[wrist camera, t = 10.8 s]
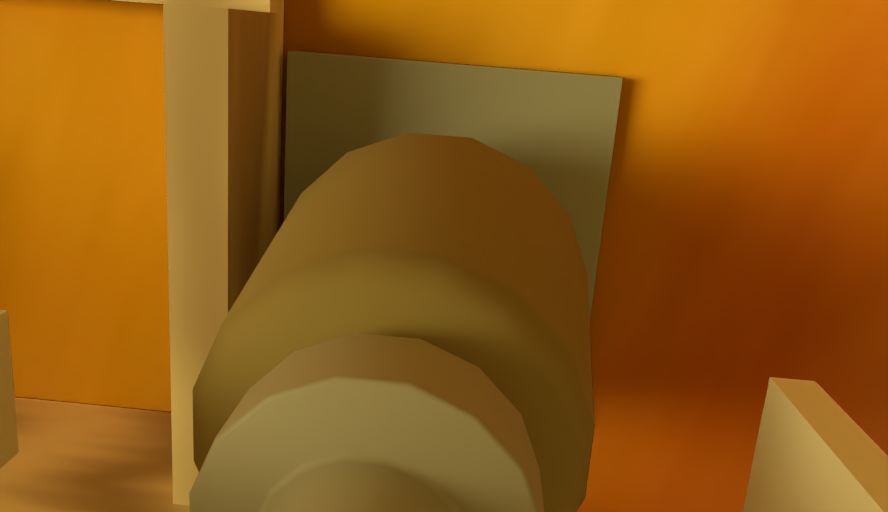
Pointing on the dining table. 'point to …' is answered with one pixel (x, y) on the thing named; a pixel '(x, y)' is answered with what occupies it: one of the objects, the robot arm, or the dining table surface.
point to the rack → (177, 265)
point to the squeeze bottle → (405, 346)
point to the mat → (459, 123)
